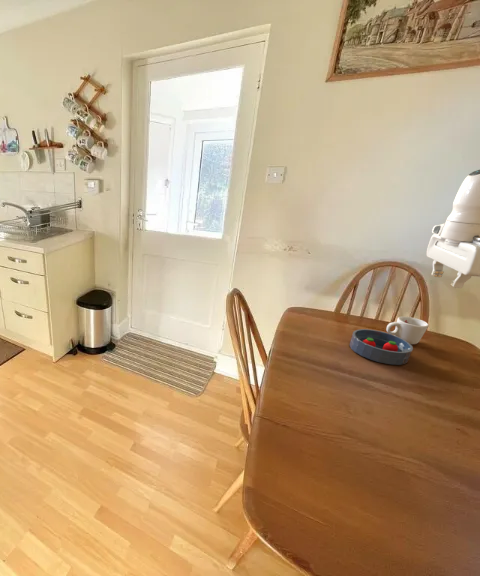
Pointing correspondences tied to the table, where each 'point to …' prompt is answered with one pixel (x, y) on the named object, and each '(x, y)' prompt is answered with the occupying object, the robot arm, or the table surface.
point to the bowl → (380, 347)
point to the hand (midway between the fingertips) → (445, 281)
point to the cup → (408, 329)
